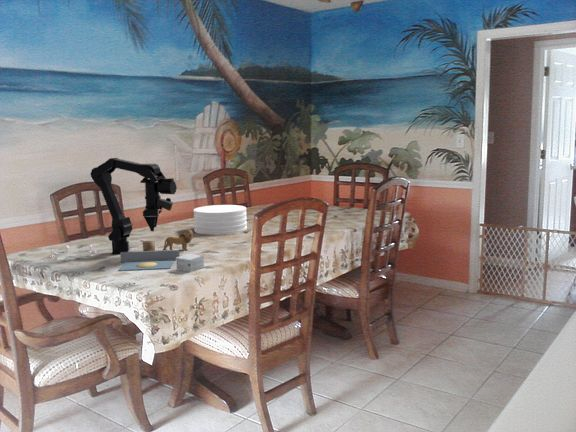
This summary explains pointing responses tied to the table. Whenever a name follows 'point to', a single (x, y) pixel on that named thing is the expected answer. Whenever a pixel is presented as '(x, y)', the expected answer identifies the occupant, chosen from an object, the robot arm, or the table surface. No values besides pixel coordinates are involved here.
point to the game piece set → (69, 249)
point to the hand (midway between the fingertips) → (153, 229)
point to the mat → (146, 265)
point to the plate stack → (220, 219)
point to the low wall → (149, 255)
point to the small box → (190, 262)
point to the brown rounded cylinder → (149, 246)
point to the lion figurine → (179, 240)
